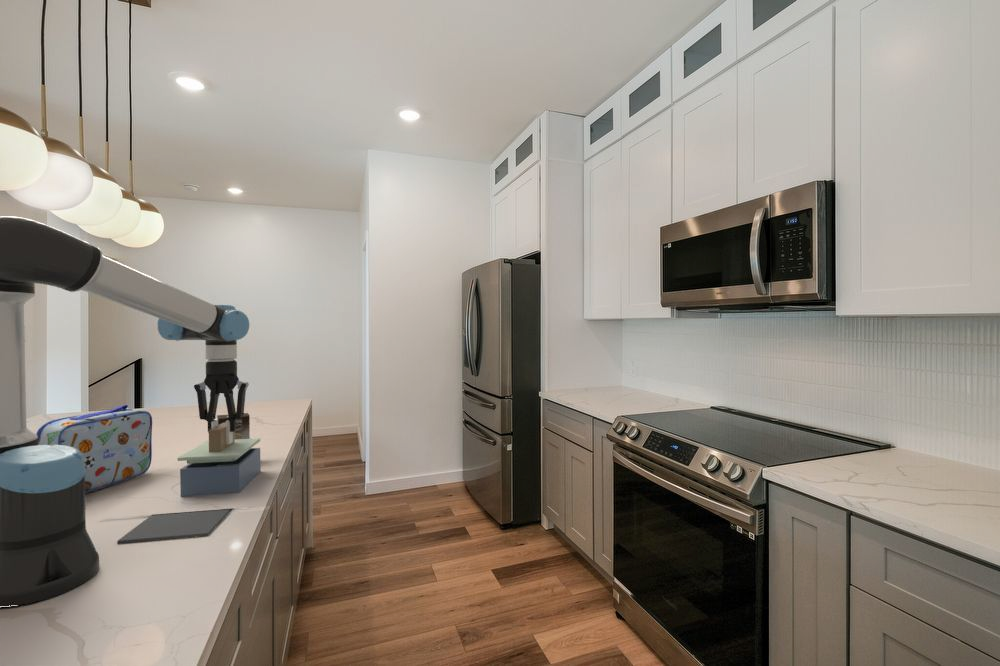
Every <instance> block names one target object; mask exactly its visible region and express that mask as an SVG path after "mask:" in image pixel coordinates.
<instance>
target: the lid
mask: <svg viewBox="0 0 1000 666" xmlns="http://www.w3.org/2000/svg"><path fill="white" fill-rule="evenodd" d="M260 442H261V438H258V437H257V438H250V439H235V431H234V432H233V442H232V443H231V444H229V445H226V423H222V424H220V425H218V426H216V427H214V428H212V429H210V430H209V433H208V440H207V441H205V442H203V443H201V444H200V445H197V446H196V447H194V448H192V449H190V450H189V451H187V452H185V453H183V454H182V455H180V456H179V457H177V461H178V462H180V461H181V462H184V461H185V462H186V465H188V464H189V463H207V462H225V461H235V460H236V459H238V458H239V457H240V456H242V455H243V454H244V453H245V452H247V451H248V450H249V449H251V448H254V446H256V445H257V444H259V443H260Z"/></svg>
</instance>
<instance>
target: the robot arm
mask: <svg viewBox="0 0 1000 666" xmlns="http://www.w3.org/2000/svg"><path fill="white" fill-rule="evenodd" d="M35 284H38V285H39V284H40V285H46V286H51V287H56V288H58V289H62V290H64V291H67V292H70V293H76V292H79V291H83V292H87V293H88V294H89V293H90V294H91V295H94V296H97V297H101V298H103V299H105V300H109V301H110V302H113V303H116V304H119V305H122V306H125V307H128V308H130V309H133V310H135V311H138V312H142V313H143V314H147V315H150V316H151V317H152V316H153V317H155V318H158V319H157V331H158V334H159V335H160V336H161V338H163V339H165V340H166V341H175V342H177V341H178V342H179V341H205V343H204V344H205V359H206V360H207V361H206V362H205V378H204V379H203V381H202V382H200V383H196V384H194V385H193V389H194V390H195V392H196V396H197V397H196V398H197V404H198V417H199V419H200V420H204V421H206V422H207V432H208V434H209V430H210V429H212V428H214V427H216V426H218V420H214V419H216V418H217V411H218V410H217V408H218V402H219V396H220V395H221V394H223V396H224V398H225V404H226V410H227V415H228V416H229V419H228V421H226V445H229V444H231V443H232V442H233V432H234V431H236V419H238V418H240V417H242V416H243V415H244V413H245V405H246V404H245V403H246V394H247V393H246V391H247V389H248V387H249V382H248V381H247V382H244V381H241V380H240V379H239V377H238V361H237V360H235V359H237V358H238V354H237V352H238V351H237V349H238V345H237V344H238V343H237V342H238V341H239V340H242V339H243V338H245V337H246V336H247V334H248V333H249V331H250V319H249V318H248V316H247V314H246V313H244V312H243V311H241V310H239V309H238V310H237V309H236V307H235V306H234V305H229V304H213V303H210V302H208V301H205V300H203V299H202V298H199V297H197V296H194V295H192V294H190V293H188V292H186V291H183V290H181V289H179V288H178V287H177V288H176V287H174V286H172V285H170V284H167V283H165V282H164V281H161V280H158V279H156V278H154V277H152V276H150V275H148V274H145V273H143V272H141V271H138V270H136V269H135V268H132V267H129V266H127V265H125V264H122V263H121V262H118V261H116V260H114V259H112V258H110V257H108V256H107V257H106V256H105V255H103V252H102V250H101V248H100V247H98V246H96V245H93V244H91V243H89V242H87V241H85V240H82V239H80V238H78V237H76V236H73V235H72V234H69V233H67V232H64V231H63V230H60V229H57V228H55V227H53V226H50V225H47V224H46V223H42V222H40V221H37V220H33V219H31V218H25V217H20V216H10V215H9V216H8V215H7V216H6V215H5V216H2V215H1V216H0V606H9V605H10V606H11V605H21V606H23V605H22V604H26V605H29V604H28V603H30V604H34V603H37V602H36V601H38V602H41V601H44V600H45V601H46V600H47V599H50V598H54V597H56V596H59V595H62V594H64V593H66V592H69V591H71V590H73V589H75V588H77V587H79V586H80V585H83V584H84V583H86V582H87V581H89V580H90V579H92V578H93V577H94V576H95V575H96V574H97V573H98V572H99V570H100V555H99V553H98V551H97V549H96V547H95V544H94V543H93V541H92V539H91V537H90V535H89V532H88V531H87V527H86V526H87V523H86V517H87V516H86V493H85V473H86V468H85V464H84V458H83V454H82V453H81V452H80V451H79V450H78V449H76V448H74V447H70V446H66V445H52V446H50V445H38V435H36V433H34V432H33V431H31V430H30V429H28V427H27V395H26V394H27V392H26V391H27V390H26V389H27V388H26V354H25V353H26V347H25V346H26V345H25V344H26V343H25V342H26V341H25V340H26V339H25V306H24V305H25V304H26V302H28V301H29V300H31V299H33V298H34V297H35V296H36V292H35V289H36V287H35V286H36V285H35ZM235 387H237V389H238V392H237V401H236V404H235V398H234V389H235ZM207 388H208V389H209V390H210V392H209V397H210V398H209V404H208V403H207V402H208V401H207V393H206V392H207V391H206V389H207ZM33 602H34V603H33Z"/></svg>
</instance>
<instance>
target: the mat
mask: <svg viewBox="0 0 1000 666" xmlns="http://www.w3.org/2000/svg"><path fill="white" fill-rule="evenodd" d="M233 509H234V508H232V507H231V508H222V509H219V508H218V509H208V510H207V509H206V510H196V511H182V512H170V513H158V514H155V513H154V514H151V515H150V516H148V517H147V518H146V519H145V520H143V521H142V522H141V523H139V524H137V525H136V526H135V527H134V528H132V529H131V530H129V532H127V533H126V534H124V535H123V536H122V537H120V538H119V539H118V540H117V541H116V542H117V544H118V545H119V544H129V543H141V542H153V541H163V540H175V539H176V540H177V539H185V537H188V538H196V537H195V536H200V537H207V536H209V535H210V534H211V533H212V532H213V531H214V530H215V529H216V528H217V527H218V525H220V523H222V521H223V520H224V519H225V518H226V517H227V516H228V515H229V514H230V513H229V512H231V511H233ZM228 513H229V514H228ZM227 514H228V515H227ZM226 515H227V516H226ZM225 516H226V517H225ZM223 518H224V519H223ZM215 527H216V528H215ZM214 528H215V529H214Z"/></svg>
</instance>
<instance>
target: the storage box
mask: <svg viewBox="0 0 1000 666" xmlns="http://www.w3.org/2000/svg"><path fill="white" fill-rule="evenodd" d="M232 464H237V465H232ZM217 465H228V466H217ZM260 473H261V447H252V448H251V449H249V450H248V451H247V452H245V453H244V454H243V455H242V456H240V457H239V458H238V459H236V460H235V461H225V462H207V463H188V464H186V465H184V466H182V467H181V468H180V469H179V476H180V481H179V482H180V498H185V497H186V498H187V497H201V496H212V495H214V496H215V495H227V494H239V493H240V494H241V492H242V491H243V490H244V489H245V488H246V487H247V486H248V485H249V484H250V483H251V482H252V481H253V480H254V478H256V477H257V476H258V475H259V474H260Z"/></svg>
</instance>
